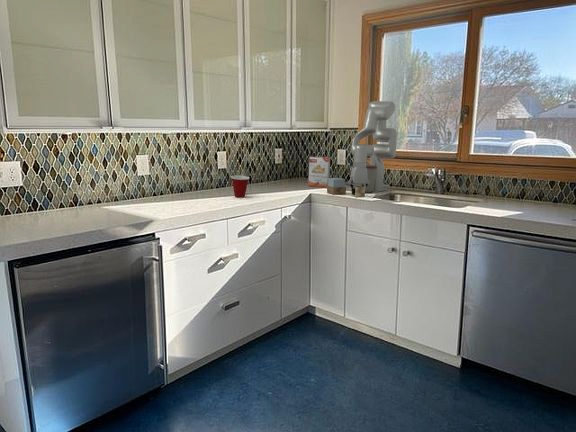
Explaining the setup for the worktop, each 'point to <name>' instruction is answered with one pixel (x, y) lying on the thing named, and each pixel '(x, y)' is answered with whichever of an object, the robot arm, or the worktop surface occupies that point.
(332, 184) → the tower top
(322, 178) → the cracker box
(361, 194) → the oak cube
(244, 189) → the plastic cup
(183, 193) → the worktop surface
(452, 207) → the worktop surface
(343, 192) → the tower base
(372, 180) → the canister
